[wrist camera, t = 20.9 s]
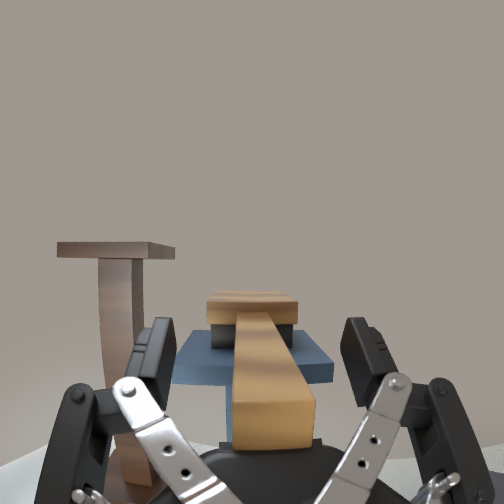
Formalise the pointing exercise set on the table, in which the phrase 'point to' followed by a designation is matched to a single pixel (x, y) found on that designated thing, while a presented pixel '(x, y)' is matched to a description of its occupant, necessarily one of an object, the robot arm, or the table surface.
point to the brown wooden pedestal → (122, 350)
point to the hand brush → (263, 369)
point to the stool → (222, 360)
